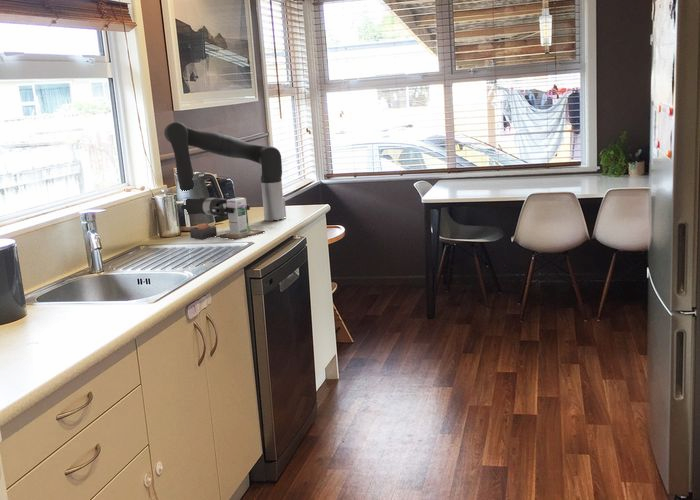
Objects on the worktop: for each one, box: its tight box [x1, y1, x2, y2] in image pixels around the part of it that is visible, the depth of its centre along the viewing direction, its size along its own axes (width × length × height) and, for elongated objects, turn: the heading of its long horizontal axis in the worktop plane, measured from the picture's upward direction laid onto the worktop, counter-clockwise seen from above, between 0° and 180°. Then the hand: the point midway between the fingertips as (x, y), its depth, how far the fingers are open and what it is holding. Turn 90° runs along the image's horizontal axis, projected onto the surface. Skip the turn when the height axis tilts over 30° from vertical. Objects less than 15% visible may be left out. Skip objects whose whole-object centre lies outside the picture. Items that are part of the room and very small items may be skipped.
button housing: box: [189, 225, 218, 241], centre depth 317 cm, size 8×8×4 cm
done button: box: [196, 222, 209, 229], centre depth 316 cm, size 4×4×3 cm
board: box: [215, 228, 266, 241], centre depth 317 cm, size 16×12×1 cm
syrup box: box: [226, 197, 250, 235], centre depth 315 cm, size 6×6×14 cm
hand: (241, 209), depth 313 cm, fingers open, 8 cm apart
